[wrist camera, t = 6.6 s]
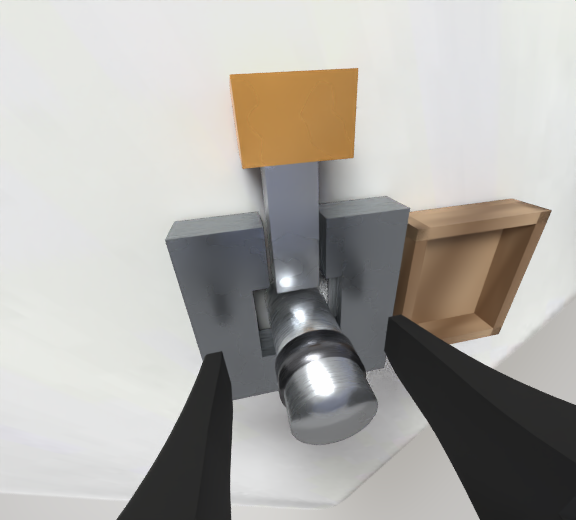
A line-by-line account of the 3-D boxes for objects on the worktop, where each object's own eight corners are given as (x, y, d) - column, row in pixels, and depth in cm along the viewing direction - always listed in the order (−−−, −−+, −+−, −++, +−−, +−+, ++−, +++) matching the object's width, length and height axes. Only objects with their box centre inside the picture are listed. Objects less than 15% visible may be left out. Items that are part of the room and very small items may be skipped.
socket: (174, 221, 12) (165, 239, 10) (386, 195, 13) (410, 208, 11) (217, 373, 17) (216, 403, 15) (369, 343, 18) (383, 367, 16)
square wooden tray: (511, 198, 15) (551, 210, 13) (472, 312, 19) (498, 333, 17) (393, 214, 14) (418, 229, 12) (377, 331, 18) (394, 355, 16)
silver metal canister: (320, 264, 14) (387, 374, 8) (320, 312, 16) (377, 434, 10) (258, 274, 14) (282, 397, 8) (265, 322, 15) (289, 456, 9)
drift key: (229, 85, 10) (229, 74, 7) (323, 80, 10) (357, 68, 8) (256, 274, 14) (263, 314, 11) (323, 264, 14) (346, 299, 12)
